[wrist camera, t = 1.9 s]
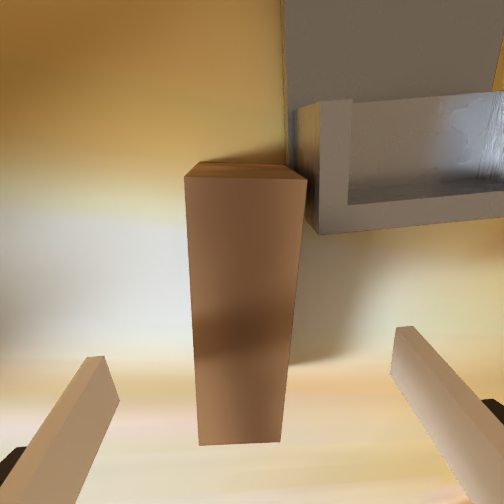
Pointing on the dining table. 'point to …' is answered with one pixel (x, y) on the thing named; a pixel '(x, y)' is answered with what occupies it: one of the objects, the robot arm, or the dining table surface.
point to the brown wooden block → (242, 294)
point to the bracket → (394, 111)
